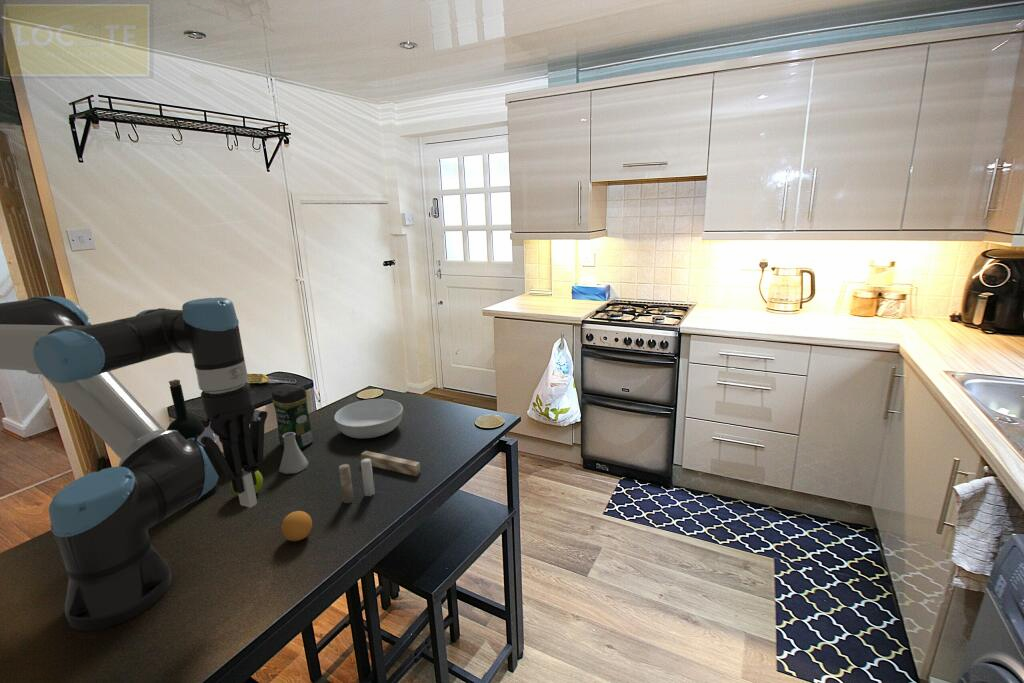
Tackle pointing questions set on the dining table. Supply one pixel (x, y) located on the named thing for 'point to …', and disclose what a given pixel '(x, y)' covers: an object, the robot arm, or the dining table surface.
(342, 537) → the dining table surface
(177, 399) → the wine bottle
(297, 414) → the coffee jar
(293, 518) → the ball
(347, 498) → the pin
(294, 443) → the flask
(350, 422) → the serving bowl
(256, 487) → the tennis ball
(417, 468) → the back wall
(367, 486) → the pin
